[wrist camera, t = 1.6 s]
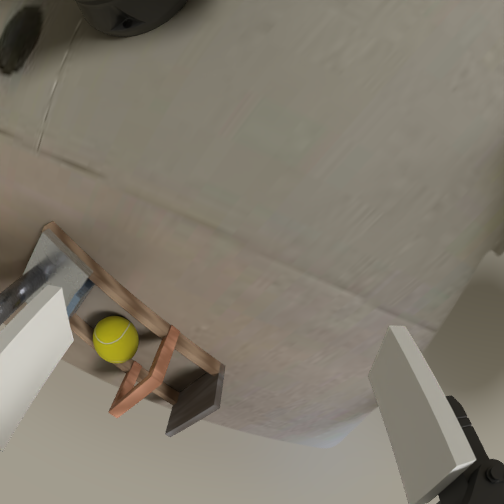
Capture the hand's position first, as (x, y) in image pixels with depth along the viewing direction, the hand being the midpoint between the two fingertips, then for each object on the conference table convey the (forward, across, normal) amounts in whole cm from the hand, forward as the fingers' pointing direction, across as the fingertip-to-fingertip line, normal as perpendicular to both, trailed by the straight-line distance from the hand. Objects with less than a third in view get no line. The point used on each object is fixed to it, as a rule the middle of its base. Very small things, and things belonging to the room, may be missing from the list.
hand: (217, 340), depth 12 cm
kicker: (+28, -27, -15) cm, 42 cm away
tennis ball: (+28, -17, -23) cm, 40 cm away
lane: (+28, -18, -22) cm, 40 cm away
